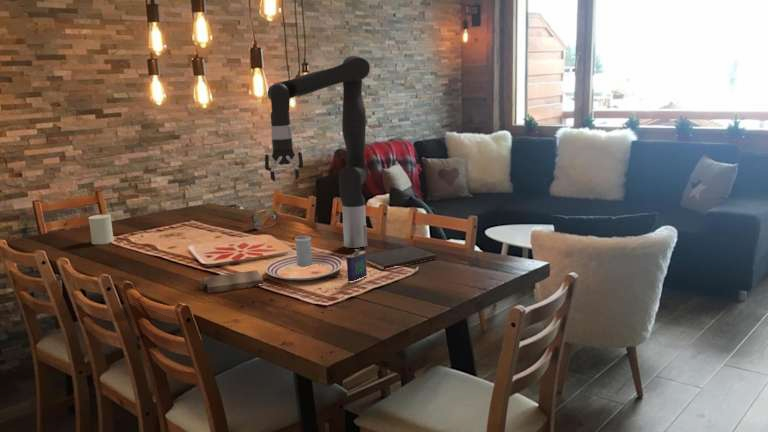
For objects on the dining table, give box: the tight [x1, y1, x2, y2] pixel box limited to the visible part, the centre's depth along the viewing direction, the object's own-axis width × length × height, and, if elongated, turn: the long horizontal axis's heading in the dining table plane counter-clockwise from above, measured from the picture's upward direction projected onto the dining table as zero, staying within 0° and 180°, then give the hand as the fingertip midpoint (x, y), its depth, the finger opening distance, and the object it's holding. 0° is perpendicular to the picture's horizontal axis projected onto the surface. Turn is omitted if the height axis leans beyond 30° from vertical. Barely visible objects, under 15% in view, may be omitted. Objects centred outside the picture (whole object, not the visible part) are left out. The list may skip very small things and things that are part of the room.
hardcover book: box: [366, 245, 437, 269], centre depth 242 cm, size 16×23×2 cm
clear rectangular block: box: [249, 208, 278, 230], centre depth 303 cm, size 15×3×8 cm, turn 143°
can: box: [87, 213, 115, 245], centre depth 286 cm, size 9×9×12 cm
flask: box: [346, 249, 368, 282], centre depth 220 cm, size 9×3×11 cm, turn 144°
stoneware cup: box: [294, 234, 312, 267], centre depth 229 cm, size 6×6×10 cm
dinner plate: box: [265, 253, 344, 281], centre depth 231 cm, size 28×27×3 cm
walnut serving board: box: [199, 270, 264, 294], centre depth 220 cm, size 20×12×2 cm, turn 111°
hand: (285, 180), depth 247 cm, fingers open, 8 cm apart
